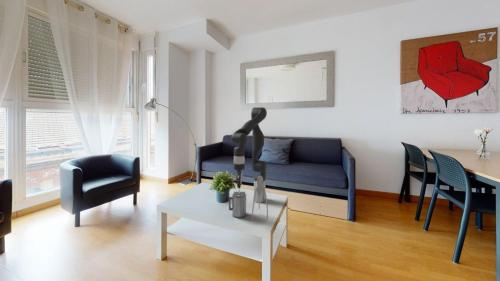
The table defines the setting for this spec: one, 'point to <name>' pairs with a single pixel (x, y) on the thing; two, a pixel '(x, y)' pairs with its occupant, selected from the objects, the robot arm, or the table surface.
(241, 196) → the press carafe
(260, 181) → the juicer
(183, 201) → the table surface
